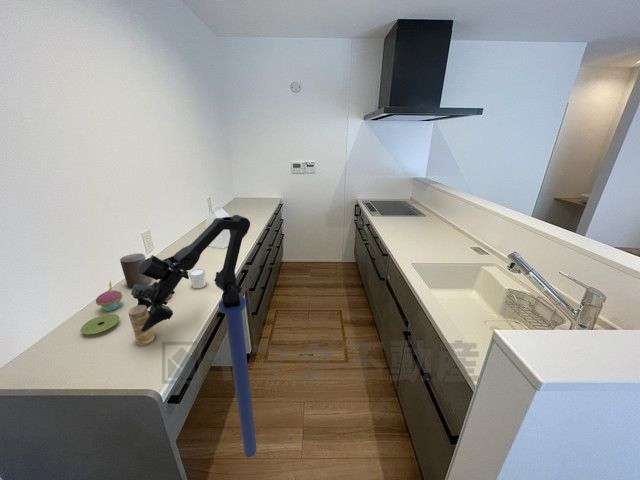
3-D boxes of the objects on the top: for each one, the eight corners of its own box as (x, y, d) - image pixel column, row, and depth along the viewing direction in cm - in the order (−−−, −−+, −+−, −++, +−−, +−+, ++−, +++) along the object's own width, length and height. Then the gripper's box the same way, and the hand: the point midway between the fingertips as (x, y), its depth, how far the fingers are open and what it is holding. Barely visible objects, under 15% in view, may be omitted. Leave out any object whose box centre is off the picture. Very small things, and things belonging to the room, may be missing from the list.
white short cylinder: (208, 286, 124) (206, 273, 122) (193, 290, 121) (190, 277, 118) (205, 280, 130) (203, 267, 127) (190, 284, 126) (187, 271, 123)
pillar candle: (126, 290, 120) (118, 261, 115) (127, 281, 128) (119, 253, 122) (151, 284, 125) (144, 256, 119) (151, 276, 133) (144, 249, 127)
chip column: (156, 333, 95) (148, 303, 90) (152, 343, 90) (144, 312, 85) (139, 336, 93) (130, 306, 88) (135, 346, 88) (125, 315, 84)
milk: (223, 248, 167) (218, 208, 157) (208, 246, 170) (202, 207, 161) (234, 242, 177) (230, 204, 168) (220, 239, 181) (215, 202, 171)
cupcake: (120, 299, 114) (112, 274, 109) (128, 306, 109) (120, 281, 105) (95, 308, 107) (86, 283, 103) (103, 316, 103) (94, 290, 98)
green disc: (100, 340, 91) (99, 335, 90) (73, 335, 93) (71, 331, 92) (128, 319, 101) (126, 315, 101) (103, 316, 103) (101, 312, 102)
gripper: (136, 266, 92) (106, 306, 88) (155, 286, 80) (120, 333, 76) (165, 278, 100) (138, 315, 96) (185, 297, 88) (156, 340, 85)
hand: (138, 324), depth 88 cm, fingers open, 9 cm apart
